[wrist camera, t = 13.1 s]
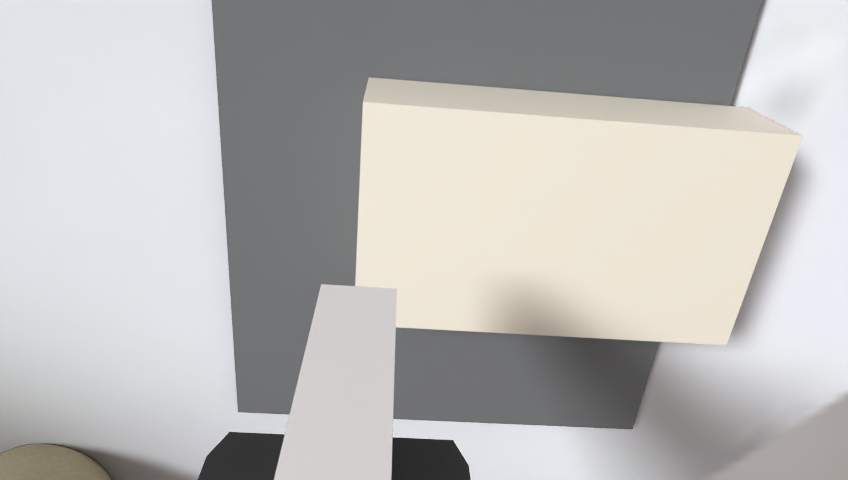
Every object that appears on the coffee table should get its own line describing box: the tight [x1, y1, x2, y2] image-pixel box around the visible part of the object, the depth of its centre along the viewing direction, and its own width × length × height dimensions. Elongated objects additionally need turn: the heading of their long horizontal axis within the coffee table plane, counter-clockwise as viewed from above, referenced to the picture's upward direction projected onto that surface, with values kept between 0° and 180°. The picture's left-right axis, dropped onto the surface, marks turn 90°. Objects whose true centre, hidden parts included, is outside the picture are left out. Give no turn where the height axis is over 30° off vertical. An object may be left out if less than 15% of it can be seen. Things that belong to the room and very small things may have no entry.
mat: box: [212, 0, 762, 429], centre depth 21 cm, size 16×22×1 cm
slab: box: [355, 77, 803, 345], centre depth 20 cm, size 3×7×12 cm
